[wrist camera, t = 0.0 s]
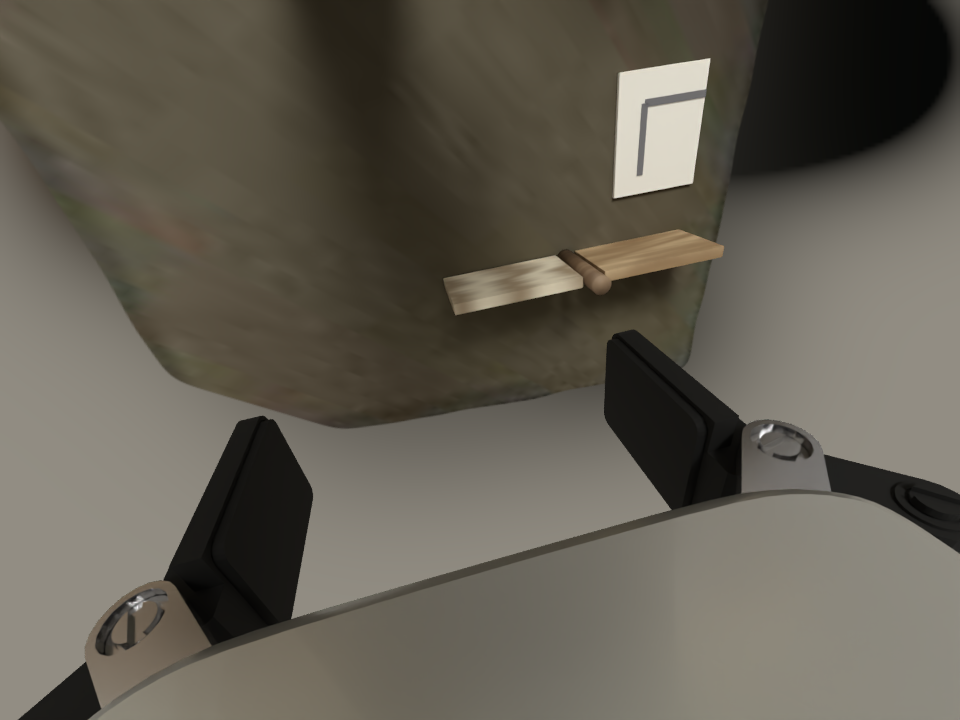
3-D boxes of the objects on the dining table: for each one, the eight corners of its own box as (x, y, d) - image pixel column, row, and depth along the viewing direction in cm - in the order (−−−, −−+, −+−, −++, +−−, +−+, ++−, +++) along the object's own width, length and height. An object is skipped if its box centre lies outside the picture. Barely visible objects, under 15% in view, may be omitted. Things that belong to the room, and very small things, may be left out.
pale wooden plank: (555, 255, 49) (583, 277, 42) (555, 264, 49) (582, 287, 43) (443, 278, 47) (453, 304, 40) (444, 287, 48) (455, 315, 41)
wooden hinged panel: (556, 251, 49) (593, 278, 40) (679, 226, 50) (738, 247, 42) (557, 266, 50) (592, 296, 41) (677, 241, 51) (734, 265, 43)
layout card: (617, 73, 40) (620, 72, 40) (707, 58, 41) (711, 58, 41) (612, 197, 47) (614, 198, 46) (690, 182, 48) (693, 183, 47)
